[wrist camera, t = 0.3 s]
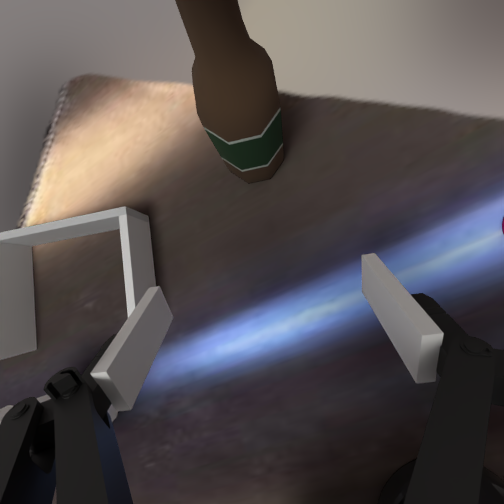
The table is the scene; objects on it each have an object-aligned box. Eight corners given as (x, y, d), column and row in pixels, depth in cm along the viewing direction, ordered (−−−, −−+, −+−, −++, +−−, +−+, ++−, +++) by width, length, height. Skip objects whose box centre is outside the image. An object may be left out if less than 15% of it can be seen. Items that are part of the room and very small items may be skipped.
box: (160, 333, 34) (138, 342, 29) (30, 350, 37) (-10, 361, 32) (148, 216, 36) (125, 206, 31) (25, 240, 39) (-14, 235, 34)
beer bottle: (221, 180, 35) (68, -27, 11) (234, 125, 35) (115, -185, 11) (277, 190, 33) (241, -22, 10) (290, 133, 34) (286, -200, 10)
